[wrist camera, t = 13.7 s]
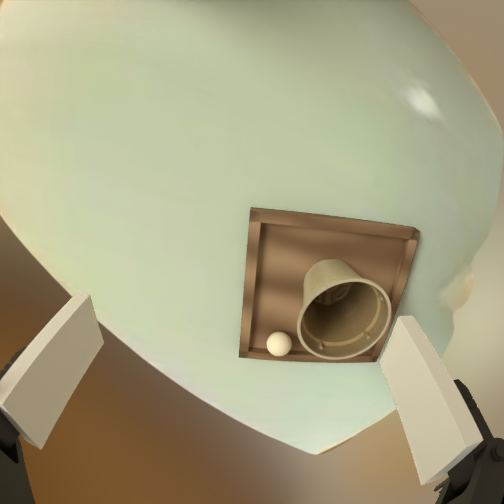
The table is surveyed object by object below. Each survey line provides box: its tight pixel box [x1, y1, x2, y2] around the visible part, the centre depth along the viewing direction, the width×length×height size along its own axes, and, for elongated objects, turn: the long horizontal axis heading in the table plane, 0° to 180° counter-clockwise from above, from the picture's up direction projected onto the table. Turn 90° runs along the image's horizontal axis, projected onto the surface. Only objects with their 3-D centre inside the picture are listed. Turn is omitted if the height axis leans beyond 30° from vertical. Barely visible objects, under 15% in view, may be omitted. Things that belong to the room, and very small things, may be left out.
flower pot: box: [297, 259, 391, 360], centre depth 29 cm, size 9×9×9 cm
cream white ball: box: [267, 332, 292, 356], centre depth 35 cm, size 3×3×3 cm
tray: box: [239, 207, 420, 363], centre depth 34 cm, size 20×20×2 cm
